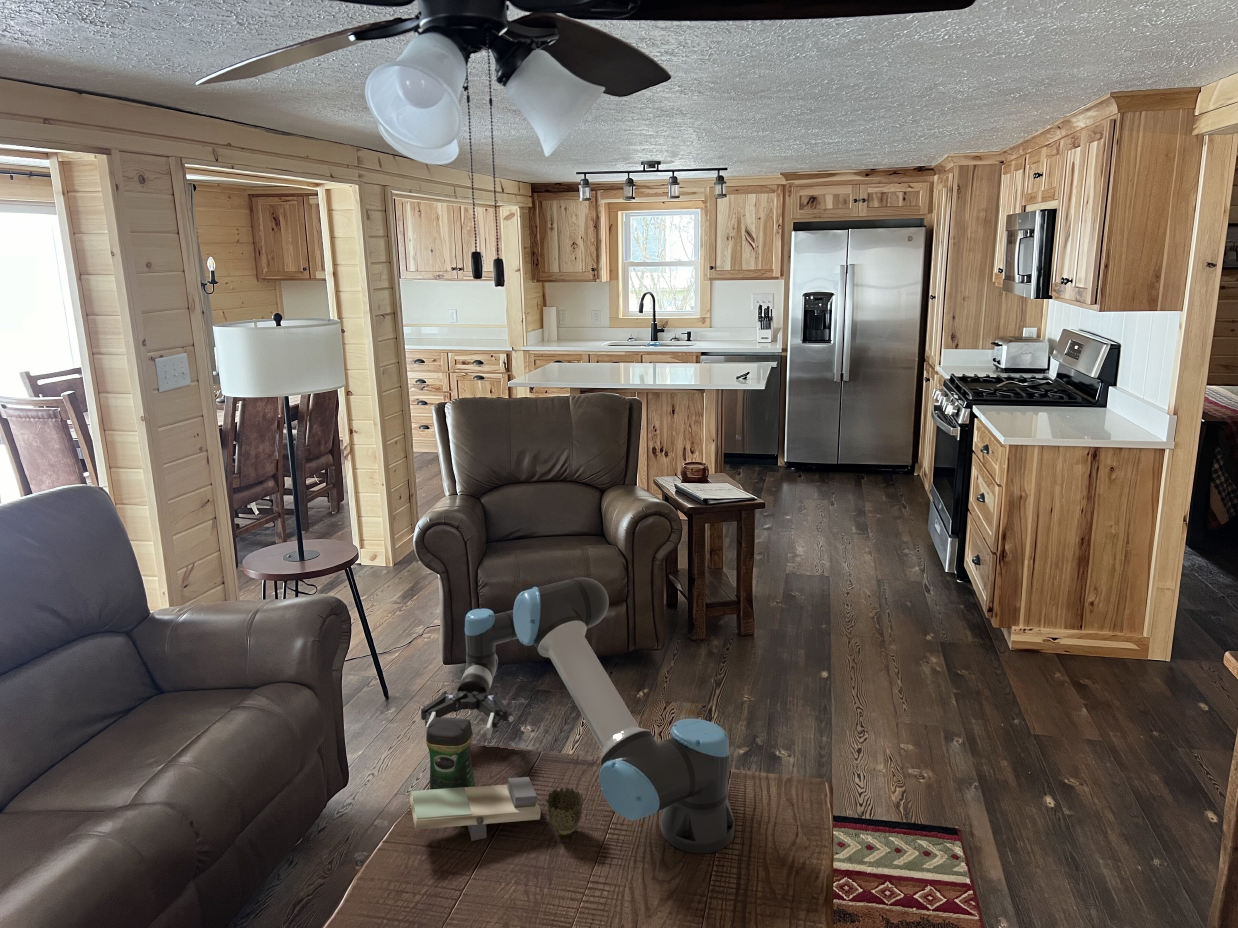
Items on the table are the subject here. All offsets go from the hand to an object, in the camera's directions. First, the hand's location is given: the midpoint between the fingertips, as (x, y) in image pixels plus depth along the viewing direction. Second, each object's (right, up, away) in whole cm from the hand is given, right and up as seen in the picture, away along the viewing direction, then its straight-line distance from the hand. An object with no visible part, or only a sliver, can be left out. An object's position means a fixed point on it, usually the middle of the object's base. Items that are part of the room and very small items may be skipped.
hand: (457, 732), depth 193 cm
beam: (+7, -9, -18) cm, 21 cm away
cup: (+25, -15, -17) cm, 34 cm away
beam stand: (+7, -15, -16) cm, 23 cm away
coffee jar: (0, -12, -6) cm, 14 cm away
